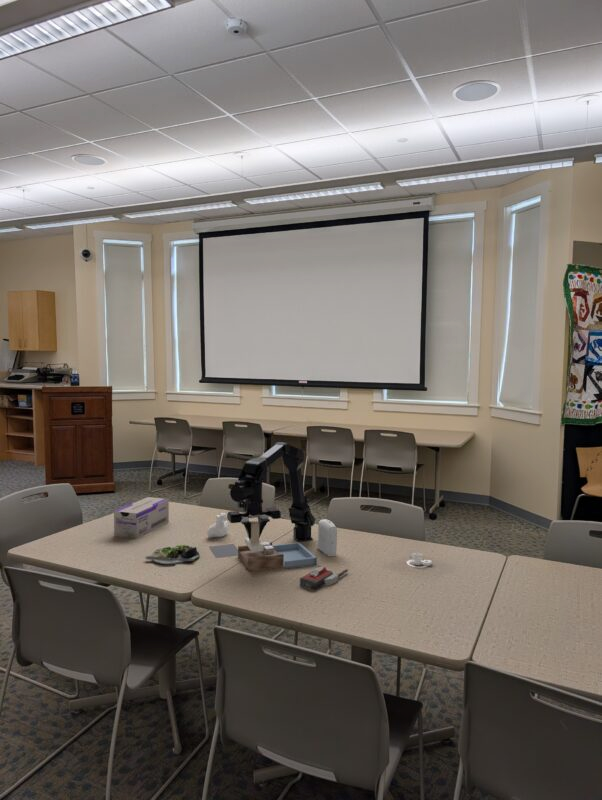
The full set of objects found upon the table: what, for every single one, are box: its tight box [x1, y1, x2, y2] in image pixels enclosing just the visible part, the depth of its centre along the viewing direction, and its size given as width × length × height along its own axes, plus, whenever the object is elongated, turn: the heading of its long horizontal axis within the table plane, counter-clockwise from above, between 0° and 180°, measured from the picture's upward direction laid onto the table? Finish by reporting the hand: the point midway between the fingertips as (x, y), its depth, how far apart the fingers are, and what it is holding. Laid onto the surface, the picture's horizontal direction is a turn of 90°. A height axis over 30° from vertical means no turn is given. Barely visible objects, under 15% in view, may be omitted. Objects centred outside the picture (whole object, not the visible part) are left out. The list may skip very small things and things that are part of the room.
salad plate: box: [145, 544, 201, 566], centre depth 203 cm, size 19×18×5 cm
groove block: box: [237, 542, 284, 572], centre depth 200 cm, size 13×14×4 cm
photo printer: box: [317, 518, 338, 557], centre depth 212 cm, size 10×4×12 cm, turn 23°
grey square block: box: [264, 544, 274, 556], centre depth 199 cm, size 3×3×3 cm
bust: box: [206, 512, 230, 539], centre depth 229 cm, size 12×8×11 cm
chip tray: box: [272, 541, 318, 569], centre depth 205 cm, size 12×18×3 cm, turn 21°
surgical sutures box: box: [113, 496, 170, 539], centre depth 238 cm, size 25×11×11 cm, turn 163°
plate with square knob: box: [244, 520, 264, 552], centre depth 199 cm, size 4×10×9 cm, turn 21°
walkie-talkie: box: [299, 566, 349, 591], centre depth 185 cm, size 9×4×20 cm
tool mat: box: [208, 543, 238, 559], centre depth 211 cm, size 10×13×1 cm
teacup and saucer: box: [406, 552, 433, 569], centre depth 201 cm, size 9×8×4 cm
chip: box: [260, 541, 270, 553], centre depth 203 cm, size 3×3×3 cm
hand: (254, 538), depth 199 cm, fingers closed on plate with square knob, 3 cm apart
